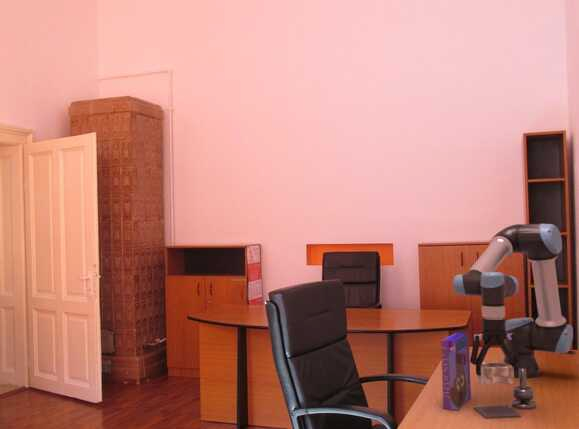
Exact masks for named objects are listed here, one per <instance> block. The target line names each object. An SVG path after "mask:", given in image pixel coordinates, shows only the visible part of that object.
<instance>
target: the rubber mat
mask: <svg viewBox="0 0 579 429" xmlns="http://www.w3.org/2000/svg"><path fill="white" fill-rule="evenodd" d="M473 409H474V411H476V412H477V413H478V414H480V416H482V417H483V418H484V419H506V418H522V415H521V414H520V413H518V412H517V411H516V410H514V409H513V408H512V407H511V406H509V405H504V404H503V405H490V406H489V405H482V406H473Z"/></svg>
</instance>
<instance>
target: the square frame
mask: <svg viewBox="0 0 579 429" xmlns="http://www.w3.org/2000/svg"><path fill="white" fill-rule="evenodd" d="M481 365H482V366H483V368H484V383H486V384H487V385H488V384H489V385H490V384H508V383H512V384H514V383H515V377H514V368H513V367H512V366H510V365H508V364H506V363H504V362H503V361H486V362H485V361H483V362H482V364H481ZM477 378H478V379H479V376H478V375H477Z"/></svg>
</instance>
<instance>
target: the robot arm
mask: <svg viewBox="0 0 579 429" xmlns="http://www.w3.org/2000/svg"><path fill="white" fill-rule="evenodd" d="M562 249H563V240H562V235H561V232H560V230H559V228H558V227H557V226H556V225H555V224H552V223H527V224H525V223H524V224H522V223H521V224H519V223H518V224H513V225H509V226H507V227H505V228H503V229H501V230H500V231H498V232H497V233H495V234H494V236H492V237H491V239H490V240H489V242H488V246H487V248H486V249H485V250H484V251H483V253H482V254H480V256H479V257H478V259H477V260H476V261H475V262H474V264H473V265H472V266H471V267H470V268H469V270H468V271H467V272H466V273H465V274H464V273H462V274H456V275H455V276H454V278H453V281H452V287H453V290H454V292H455V294H456V295H459V296H460V295H461V296H465V297H466V296H474V297H481V317H482V319H481V322H482V324H481V328H482V332H481V333H480V334H476V333H475V334H473V336H472V337H473V345H472V349H471V350H472V351H471V354H470V364H472V365H473V366H474V365H475V374H476V375H477V377H478V376H479V378H478V384H479V386H482V387H484V386H485V382H484V368H483V366H482V365H481V364H482V362H484V360H485V358H486V355H487V353H488V350H490V348H491V347H495V346H496V347H497V346H498V347H500V349H501V351H502V353H503V355H504V357H503V361H502V362H504V363H506V364H508V365H510V366H512V367H513V368H514V378H519V368H526V378H534V377H535V378H536V377H538V376H539V375H540V372H541V371H540V367H539V364H538V362H537V359H536V355H535V351H537V352H547V353H553V354H554V353H555V354H566V353H568V352H569V351H570V349H571V346H572V343H573V340H574V339H573V338H574V329H573V326H572V325H571V324H567V319H566V318H565V317H564V316H563V315H562V310H561V303H560V294H559V286H558V279H557V269H556V262H555V261H556V259H558V257H559V254H560V253H561V252H562ZM512 254H526V260H527V261H529V262H530V263H531V268H532V269H531V270H532V275H533V276H532V278H533V282H534V292H535V299H536V308H537V313H538V315H537V316H538V317H537V318H536V319H535V321H534V318H533V317H519V318H518V317H517V318H510V319H507V320H506V319H505V317H506V306H505V305H506V303H505V300H506V299H505V298H511V297H512V296H513V297H514V296H515V295H517V293H518V292H519V289H520V283H519V281H518V280H517V278H516V277H515V276H513V275H508V274H507V275H506V274H505V275H504V273H502V272H500V271H496V270H497V268H498V267H499V266H500V265H501V263H502V262H503V261H504V259H505V258H508V257H510V256H511V255H512ZM482 340H484V341H483V343H482V347H481V349H480V344H481V342H482ZM479 349H480V351H479ZM507 384H508V385H509V386H512V385H513V383H507Z"/></svg>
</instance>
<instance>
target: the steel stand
mask: <svg viewBox="0 0 579 429" xmlns="http://www.w3.org/2000/svg"><path fill="white" fill-rule="evenodd" d="M518 380H519V381H518V382H519V384H518V386H513V389H512V390H513V391H512V392H513V393H512V395H513V398H514V399H512V400H511V406H512V407H513V408H514V409H519V410H534V409H536V408H537V402H536V401H534V398H535V397H534V388H532V387H530V386H527V385H528V384H527V377H526V368H519V377H518Z"/></svg>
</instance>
